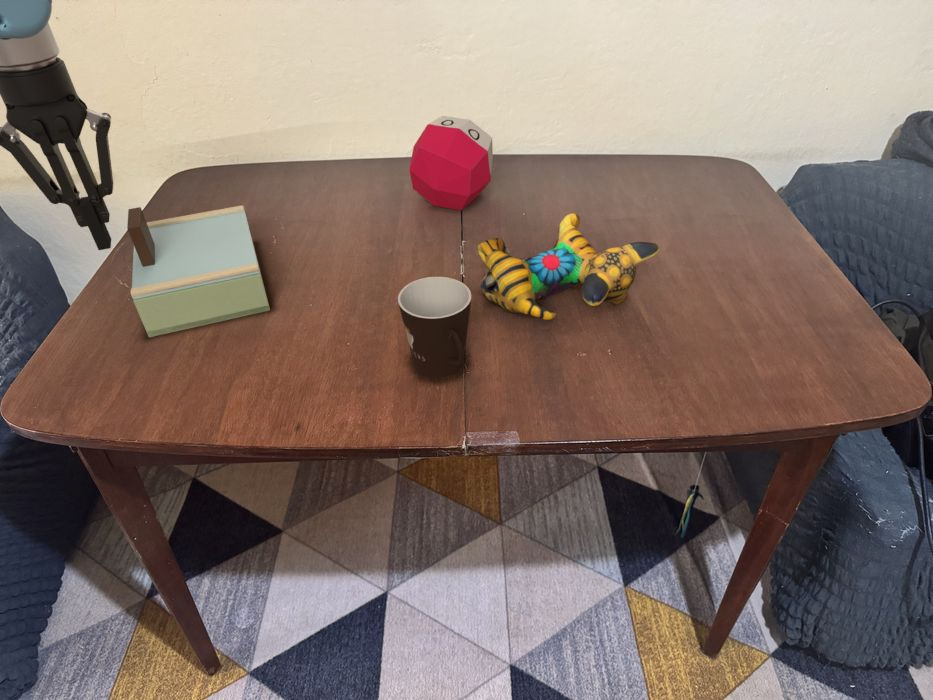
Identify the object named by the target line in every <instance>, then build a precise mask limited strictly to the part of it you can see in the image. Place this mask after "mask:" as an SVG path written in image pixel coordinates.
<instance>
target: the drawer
mask: <svg viewBox="0 0 933 700" xmlns="http://www.w3.org/2000/svg"><path fill="white" fill-rule="evenodd" d="M246 217H247V214H246V210H245V207H244V205H243V204H242V205H237V206H229V207H226V208H220V209H216V210H215V209H213V210H207V211H202V212H198V213H197V212H196V213H192V214H187V215H181V216H175V217H169V218H164V219H158V220H153V221H146V218H145V215H144V212H143V210H142V207H141V206H139V207H134V208H128V210H127V226H126V228H127V232H128V234H129V236H130V239H131V241H132V244H133V255H132V274H131V276H132V277H131V278H132V279H131V288H130V295H131V298H132V300H134V299H138V298H143V297H148V296H153V295H158V294H162V293H167V292H172V291H177V290H181V289H186V288H191V287H196V286H201V285H205V284H210V283H215V282H220V281H225V280H229V279H234V278H239V277H244V276H249V275H253V274H258V273H260V272H261V269H260V270H259V268H260V265H259V266H258V264H259V261H258V262H257V260H258V257H257V258H256V256H257V253H256V254H255V252H256V249H255V250H254V248H255V245H254V246H253V244H254V241H253V242H252V240H253V237H252V238H251V236H252V233H251V234H250V232H251V229H250V226H248V225H249V222H247V221H248V218H246ZM249 229H250V230H249Z"/></svg>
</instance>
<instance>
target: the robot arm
mask: <svg viewBox="0 0 933 700" xmlns="http://www.w3.org/2000/svg"><path fill="white" fill-rule="evenodd" d="M52 10H53V0H0V97H1V99H2V101H3V104H4V106H5V108H6V114H5V118H6V122H5V123H4V124H3V125H2V126H0V147H2V148H3V149H4V150H6V151H8V152H9V153H10V154H11V156H12V157H13V158H14V160H16V162H17V163H18V164H19V166H21V168H22V169H23V171H24V172H25V173H26V174H27V175H28V176H29V178H30V179H31V180H32V182H33V183H34V184H35V185H36V186H37V187H38V189H39V190H40V192H41V193H42V194H43V195H44V197H45V198H46V199H47V200H48V201H49V202H50V203H51V204H52V205H58V204H65V205H67V206H68V207H69V208H70V210H71V212H72V214H73V217H74V219H75V221H76V223H77V225H78V226H79V227H80V228H86V227H88V230H89V232H90V234H91V237H92V239H93V241H94V243H95V245H96V248H97V250H98V251H103V250H109V249H111V247H112V237H111V235H110V232H109V230H108V227H107V225H106V224H108V223H110V215H111V214H110V212H109V211H110V210H109V209H108V206H107V204H106V202H105V199H104V198H105V197H106V196H111V195H112V194H113V192H114V178H113V177H114V176H113V168H112V160H111V150H110V143H109V131H110V128H111V126H112V125H111V123H112V115H111V114H110V113H108V112H102V113H99V112H98V111H94V110H92V109H90V108H88V105H87V104H86V103H85V102H84V101H83V100H82V99H81V98H80V96H79V94H78V93H77V91H76V89H75V85H74V82H73V80H72V79H71V75H70V73H69V71H68V69H67V66H66V63H65V61H64V60H63V59H61V58H60V57H58V56H59V54H60V49H59V46H58V43H57V41H56V38H55V36H54V34H53V31H52V29H51V26H50V23H49V21H50V18H51V15H52ZM86 120H87V121H88V123H89V128H90V130H92V131H94V132H95V145H96V146H95V147H96V154H97V161H98V162H97V163H98V169H99V176H100V183H98V180H97V178H96V176H95V174H94V172H93V171H94V170H93V168H92V167H91V164H90V161H89V159H88V157H87V154H86V152H85V150H84V147H83V145H82V141H81V138H80V136H81V134H82V130H83V127H84V125H85V122H86ZM20 133H21V134H23V135H24V136H26V137H27V138H29V139H30V140H31V141H33V142H34V143H36V144H38V145H39V147H40V149H41V151H42V154H43V155H44V156H45V158H46V160H47V162H48V164H49V166H50V168H51V171H52V173H53V176H54V177H55V179H56V181H57V183H56V182H55V180H54V179H53V178H52V176H51V175H50V174H49V173H48V172H47V170H46V169H45V168H44V167H43V165H42V164H41V162H39V160H38V159H37V157H36V156H35V154H33V152H32V151H31V149H30V148H29V147H28V146H27V144H25V143H24V141H23V140H22V139H21V138H22V137H21V136H22V135H21V134H20ZM59 144H63V145H64V147H65V149H66V152H67V153H68V154H69V156H70V158H71V161H72V163H73V165H74V167H75V169H76V172H77V174H78V177H79V179H80V181H81V183H82V185H83V188H84V190H85V192H86V195H87V196H81V197H80V193H81V192H80V190H78V188H77V186H76V184H75V182H74V179H73V176H72V175H71V172H70V170H69V168H68V165H67V162H66V160H65V158H64V156H63V154H62V152H61V149H60V146H59Z"/></svg>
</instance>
